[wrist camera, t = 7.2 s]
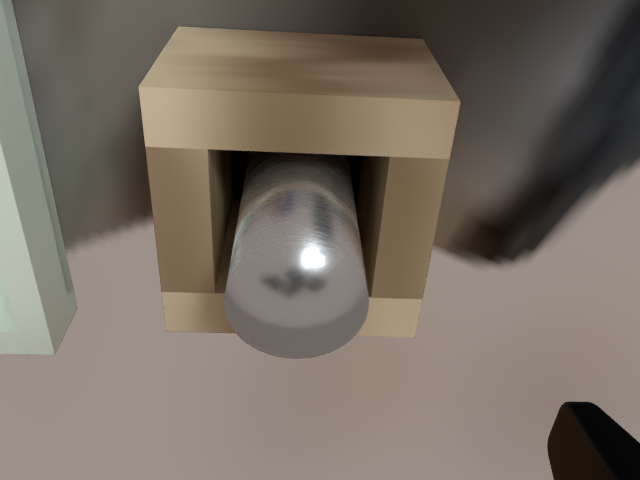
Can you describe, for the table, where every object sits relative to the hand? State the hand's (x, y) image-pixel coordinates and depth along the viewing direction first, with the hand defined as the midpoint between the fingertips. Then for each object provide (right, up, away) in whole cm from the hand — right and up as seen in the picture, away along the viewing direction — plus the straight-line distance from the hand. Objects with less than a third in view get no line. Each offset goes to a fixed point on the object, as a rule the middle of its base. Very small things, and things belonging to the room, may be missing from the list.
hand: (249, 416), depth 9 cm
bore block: (0, +6, +11) cm, 12 cm away
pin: (0, +6, +11) cm, 12 cm away
